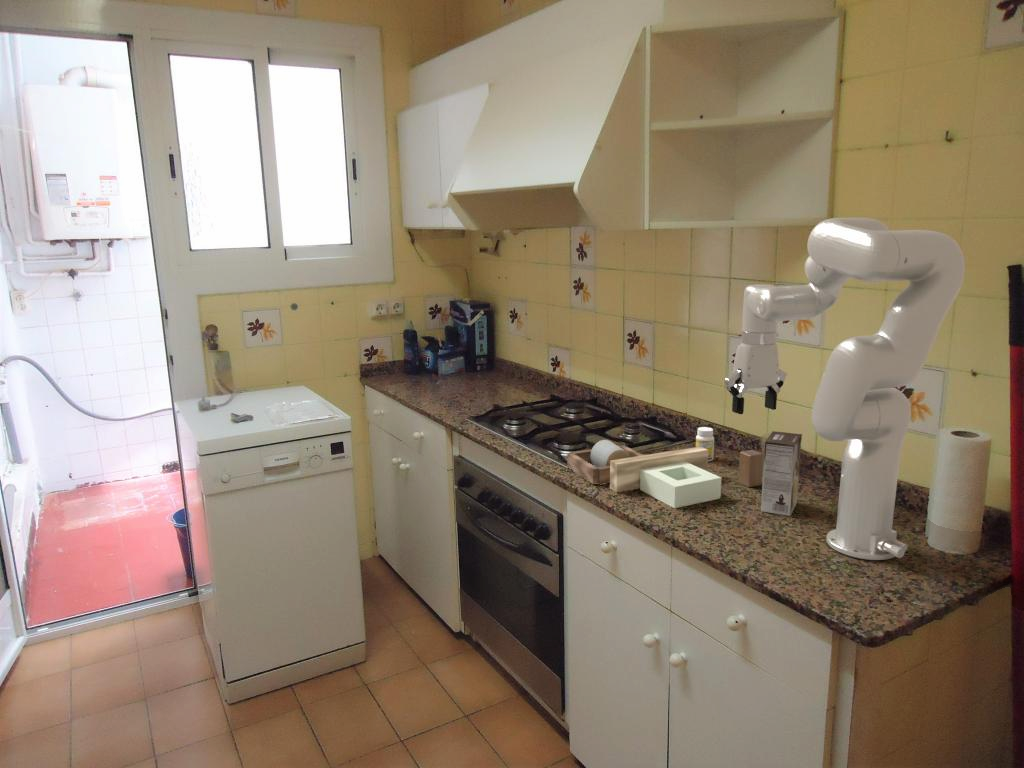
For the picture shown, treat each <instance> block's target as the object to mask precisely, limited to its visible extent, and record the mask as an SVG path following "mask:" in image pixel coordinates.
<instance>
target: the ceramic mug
mask: <svg viewBox="0 0 1024 768" xmlns="http://www.w3.org/2000/svg"><path fill="white" fill-rule="evenodd" d="M618 446H619V445H618ZM618 446H617V444H616V443H614V442H613V441H611V440H609V439H602V440H599V441H598V442H596V443H595V444H594V445H593V446H592V447H591V449H592V450H591V455H590V458H591V462H592V464H593V466H595V467H597V468H598V467H604V466H610V461H611V460H618V459H624V458H629V456H628V454H627V453H626V452H625V451H624V450H623V449H622V448H620V447H618Z"/></svg>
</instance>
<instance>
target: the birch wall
mask: <svg viewBox="0 0 1024 768" xmlns="http://www.w3.org/2000/svg"><path fill="white" fill-rule="evenodd" d="M642 455H643V456H637V457H630V458H624V459H618V460H611V461H610V484H609V489H610V490H611V489H612V490H611V491H613V492H614V491H615V493H616V494H617V492H618V493H622V492H623V491H624V492H629V491H634V489H635V490H640V489H639V488H640V470H641V469H646V468H651V467H657V466H662V465H668V464H673V463H679V462H684V461H685V462H687V463H690V464H692V465H694V466H696V467H699V468H701V469H703V470H705V471H708V465H709V463H708V449H705V448H703V447H696V446H695V447H688V448H683V449H676V450H669V451H665V452H664V451H663V452H657V453H651V454H642ZM628 490H629V491H628Z"/></svg>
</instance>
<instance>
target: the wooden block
mask: <svg viewBox="0 0 1024 768" xmlns="http://www.w3.org/2000/svg"><path fill="white" fill-rule="evenodd" d="M763 469H764V453H762V452H759V451H757V450H754V449H750V450H749V449H748V450H741V451H740V452H739V463H738V483H739V484H740V485H743V486H745V487H747V488H753V487H757V486H761V485H763Z"/></svg>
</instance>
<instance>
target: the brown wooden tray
mask: <svg viewBox="0 0 1024 768" xmlns="http://www.w3.org/2000/svg"><path fill="white" fill-rule="evenodd" d="M616 445H617V444H616ZM617 446H618V447H620V448H622V449H623V450H624V451H625V452H626V453H627V454H628V456H629V458H630V457H637V456H643V455H644V454H642V453H640V452H638V451H636V450H634V449H632V448H630V447H628V446H627V445H624V444H623V445H617ZM591 450H592V448H591V449H584V450H577V451H572V452H570V453H567V455H566V456H567V458H566V459H567V460H566V461H567V462H566V463H567V464H566V466H569V467H570V468H571V469H572V470H573V471H575V472H577V473H578V474H579V475H581V476H582V477H584V478H585V479H587V480H588V481H590V482H591V483H593V484H594V483H599V484H603V483H610V466H604V467H598V468H597V467H595V466H594V465H592V464H590V463H592V462H591V458H590V455H591ZM588 462H589V463H588ZM599 484H598V485H599Z"/></svg>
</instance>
